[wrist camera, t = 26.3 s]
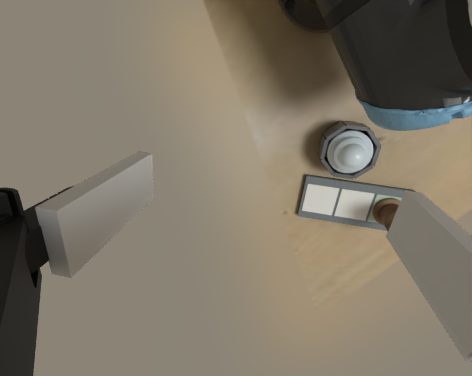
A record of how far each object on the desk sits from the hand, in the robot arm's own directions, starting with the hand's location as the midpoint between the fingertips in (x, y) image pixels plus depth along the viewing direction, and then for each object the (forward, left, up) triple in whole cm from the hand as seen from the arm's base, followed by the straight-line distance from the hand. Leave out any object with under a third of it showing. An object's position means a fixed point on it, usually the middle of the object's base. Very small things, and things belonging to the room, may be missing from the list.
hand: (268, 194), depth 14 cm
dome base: (+5, +13, -37) cm, 39 cm away
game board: (+16, +18, -37) cm, 44 cm away
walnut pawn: (+16, +24, -36) cm, 46 cm away
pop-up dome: (+5, +13, -34) cm, 37 cm away
